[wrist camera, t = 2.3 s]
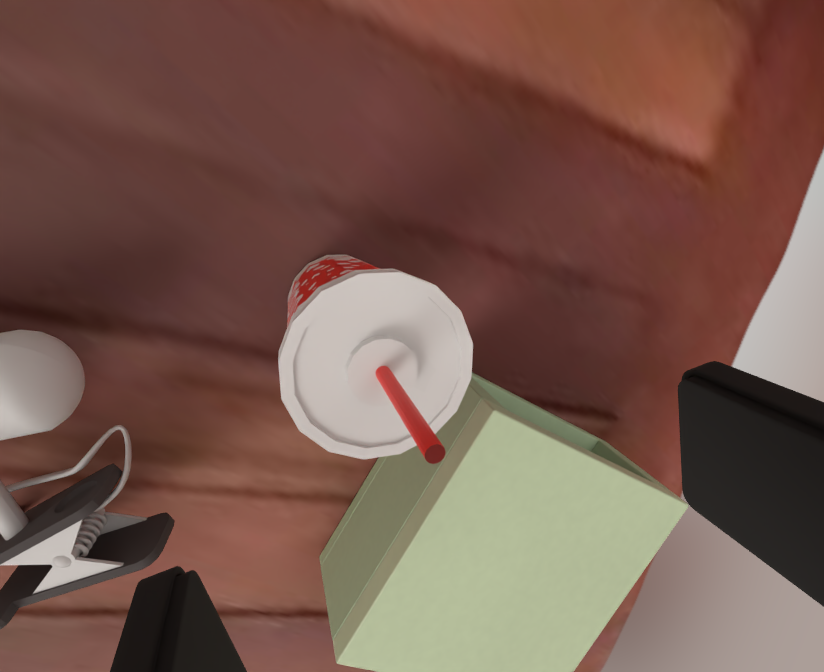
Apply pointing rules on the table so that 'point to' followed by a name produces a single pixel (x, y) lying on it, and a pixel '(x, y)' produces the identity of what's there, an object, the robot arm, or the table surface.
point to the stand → (491, 545)
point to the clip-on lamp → (72, 508)
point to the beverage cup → (372, 359)
